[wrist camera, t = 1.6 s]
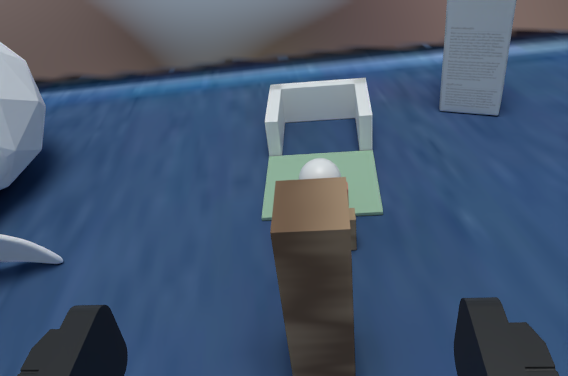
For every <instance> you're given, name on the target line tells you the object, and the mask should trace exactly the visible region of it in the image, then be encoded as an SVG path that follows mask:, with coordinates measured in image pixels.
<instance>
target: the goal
mask: <svg viewBox="0 0 568 376" xmlns="http://www.w3.org/2000/svg"><path fill="white" fill-rule="evenodd" d="M346 118H355V119H356V127H357V134H358V142H359V150H360V151H367V150H372V111H371V105H370V100H369V94H368V89H367V84H366V78H356V79H342V80H329V81H315V82H302V83H288V84H275V85H270V91H269V97H268V104H267V111H266V117H265V128H266V135H267V142H268V149H269V156H282V150H283V139H284V127H285V123H286V122H301V121H316V120H331V119H346Z"/></svg>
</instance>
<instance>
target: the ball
mask: <svg viewBox="0 0 568 376" xmlns="http://www.w3.org/2000/svg"><path fill="white" fill-rule="evenodd" d="M335 177H341V173H340V171H339V169H338V167H337V166H336V165H335V164H334V163H333V162H332V161H330V160H327V159H324V158H316V159H312V160H310V161H309V162H307V163H306V164H305V165H304V166H303V167H302V169H301V171H300V174H299V179H317V178H335Z"/></svg>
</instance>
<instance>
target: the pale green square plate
mask: <svg viewBox="0 0 568 376" xmlns="http://www.w3.org/2000/svg"><path fill="white" fill-rule="evenodd" d="M316 158H324V159H327V160H330V161H332V162H333V163H334V164H335V165H336V166H337V167H338V169H339V171H340V173H341V177H346V182H347V183H348V200H349V208H355V216H366V215H383V209H382V204H381V198H380V192H379V186H378V180H377V174H376V168H375V162H374V156H373V150H367V151H351V152H334V153H318V154H301V155H285V156H269V163H268V171H267V179H266V187H265V195H264V203H263V211H262V221H263V220H272V212H273V202H274V192H275V182H276V181H281V180H299V174H300V171H301V169H302V167H303V166H304V165H305V164H306V163H307V162H309V161H310V160H312V159H316Z"/></svg>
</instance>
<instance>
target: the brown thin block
mask: <svg viewBox="0 0 568 376" xmlns="http://www.w3.org/2000/svg"><path fill="white" fill-rule="evenodd" d="M270 233H271V240H272V246H273V252H274V259H275V265H276V272H277V278H278V284H279V291H280V297H281V304H282V310H283V316H284V323H285V329H286V335H287V342H288V348H289V355H290V361H291V367H292V374H293V376H355V348H354V318H353V289H352V259H351V230H350V218H349V200H348V183H347V182H346V177H335V178H317V179H299V180H281V181H276V182H275V192H274V202H273V212H272V222H271V232H270Z"/></svg>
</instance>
